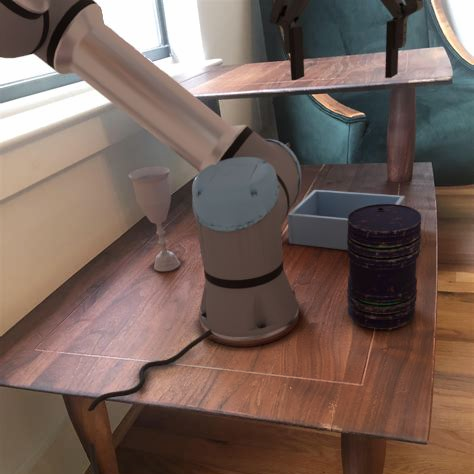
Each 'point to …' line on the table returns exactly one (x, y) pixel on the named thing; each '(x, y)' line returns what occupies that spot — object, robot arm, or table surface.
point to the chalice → (155, 207)
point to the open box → (330, 216)
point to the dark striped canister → (383, 264)
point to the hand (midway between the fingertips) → (342, 77)
